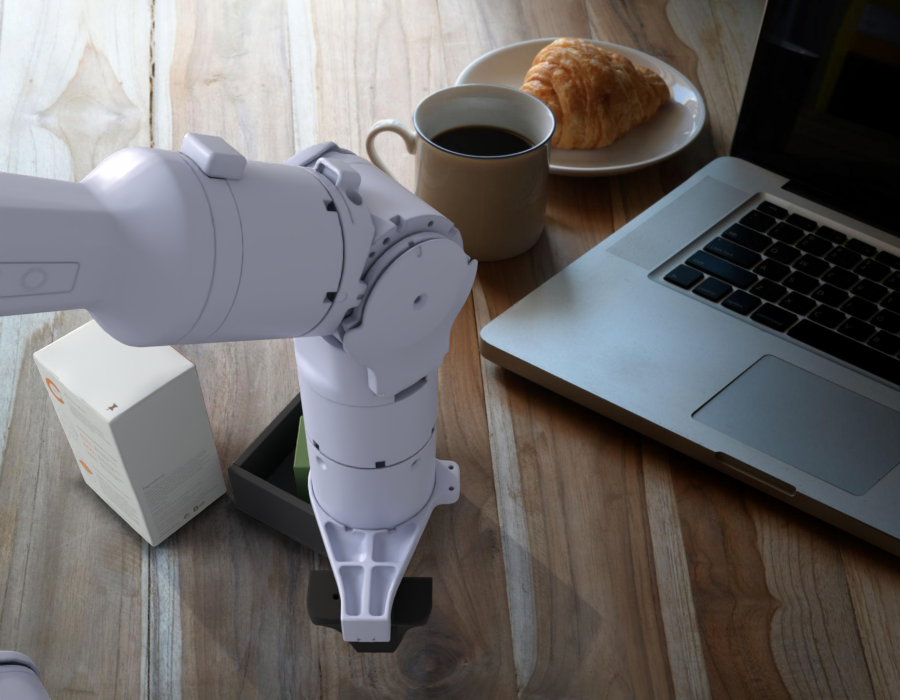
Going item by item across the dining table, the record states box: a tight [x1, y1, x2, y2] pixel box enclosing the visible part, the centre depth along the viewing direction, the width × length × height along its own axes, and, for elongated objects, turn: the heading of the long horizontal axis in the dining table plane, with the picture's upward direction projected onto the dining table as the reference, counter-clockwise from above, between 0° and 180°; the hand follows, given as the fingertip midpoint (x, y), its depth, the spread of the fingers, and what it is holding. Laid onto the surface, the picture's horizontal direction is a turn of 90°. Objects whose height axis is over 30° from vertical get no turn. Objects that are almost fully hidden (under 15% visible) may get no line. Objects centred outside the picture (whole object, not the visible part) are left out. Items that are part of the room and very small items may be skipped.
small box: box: [32, 318, 228, 548], centre depth 60 cm, size 8×6×13 cm
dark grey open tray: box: [226, 391, 329, 560], centre depth 64 cm, size 10×9×4 cm
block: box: [294, 416, 312, 505], centre depth 64 cm, size 4×4×4 cm
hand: (379, 578), depth 50 cm, fingers open, 7 cm apart
